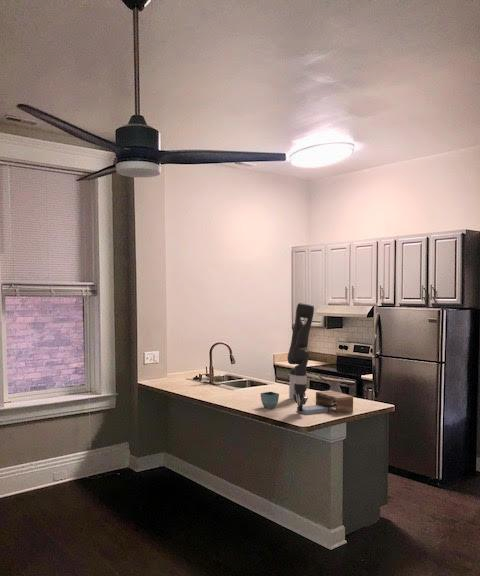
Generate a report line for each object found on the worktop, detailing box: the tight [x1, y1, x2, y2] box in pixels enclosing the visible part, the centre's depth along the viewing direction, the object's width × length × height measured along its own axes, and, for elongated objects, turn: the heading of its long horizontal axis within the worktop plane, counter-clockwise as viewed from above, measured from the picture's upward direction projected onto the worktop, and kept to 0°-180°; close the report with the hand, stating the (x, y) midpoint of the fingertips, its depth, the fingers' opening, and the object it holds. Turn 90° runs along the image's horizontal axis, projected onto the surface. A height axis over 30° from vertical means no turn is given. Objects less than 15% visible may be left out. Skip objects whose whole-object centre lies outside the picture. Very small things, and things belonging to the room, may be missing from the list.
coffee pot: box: [317, 375, 343, 403], centre depth 344 cm, size 21×12×15 cm, turn 38°
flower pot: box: [259, 391, 280, 409], centre depth 318 cm, size 9×9×9 cm
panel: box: [296, 404, 329, 415], centre depth 307 cm, size 10×16×3 cm, turn 117°
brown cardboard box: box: [315, 389, 354, 415], centre depth 314 cm, size 22×12×10 cm, turn 28°
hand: (300, 411), depth 303 cm, fingers closed
